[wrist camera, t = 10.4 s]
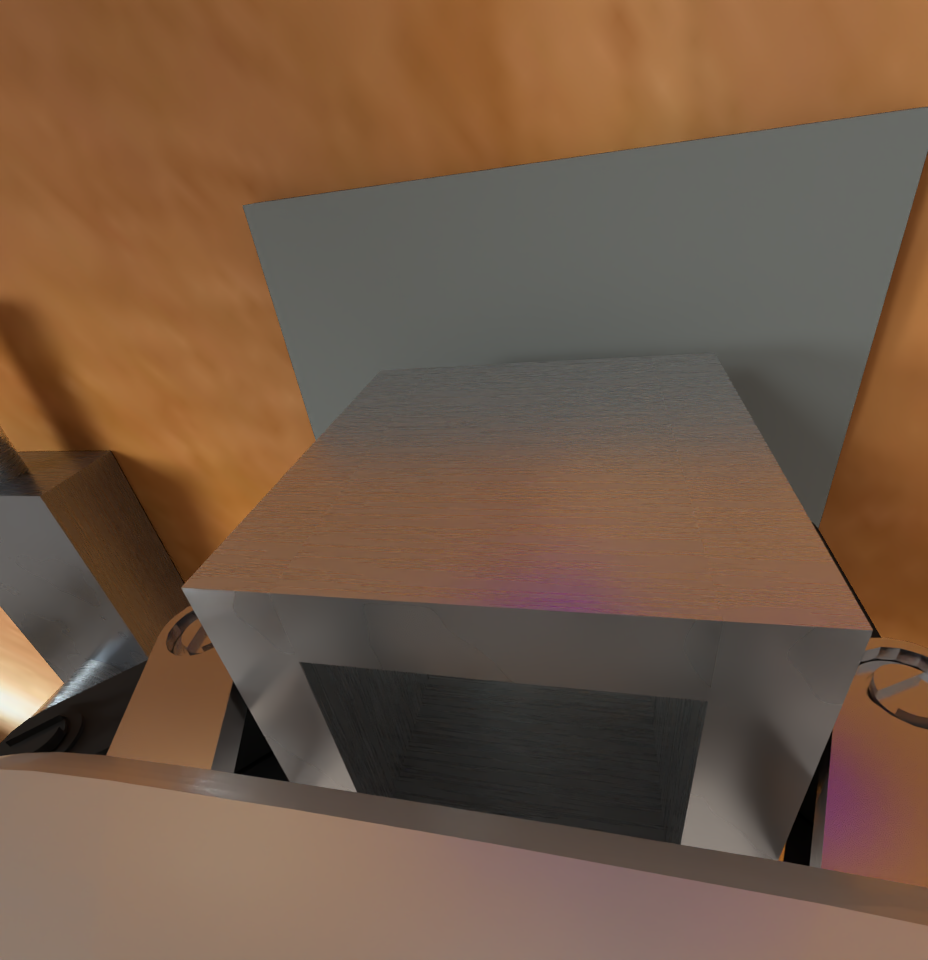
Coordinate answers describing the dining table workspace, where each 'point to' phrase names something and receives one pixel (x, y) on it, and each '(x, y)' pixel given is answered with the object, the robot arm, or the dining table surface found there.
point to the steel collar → (544, 604)
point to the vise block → (81, 565)
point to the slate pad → (616, 270)
